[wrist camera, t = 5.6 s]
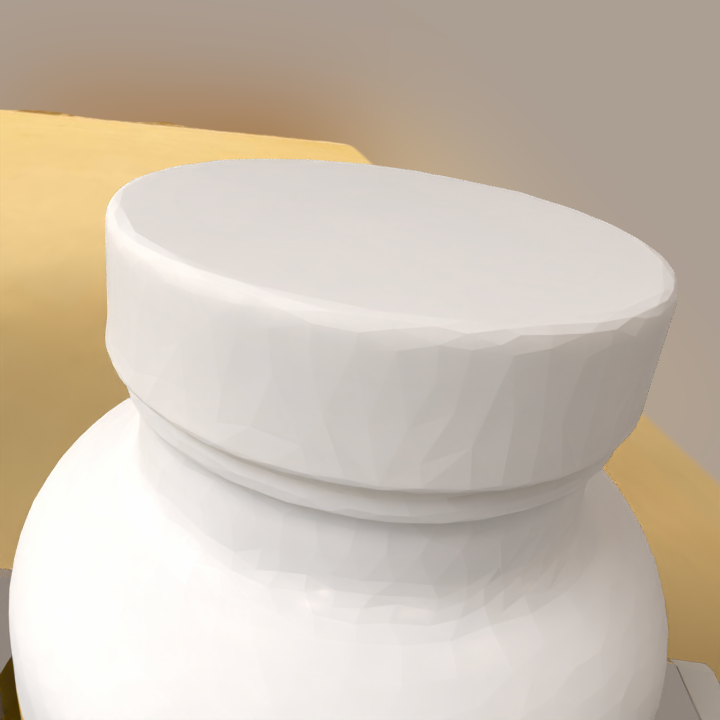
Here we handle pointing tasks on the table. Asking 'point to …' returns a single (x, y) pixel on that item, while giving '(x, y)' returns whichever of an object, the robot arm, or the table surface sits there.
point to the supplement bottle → (352, 460)
